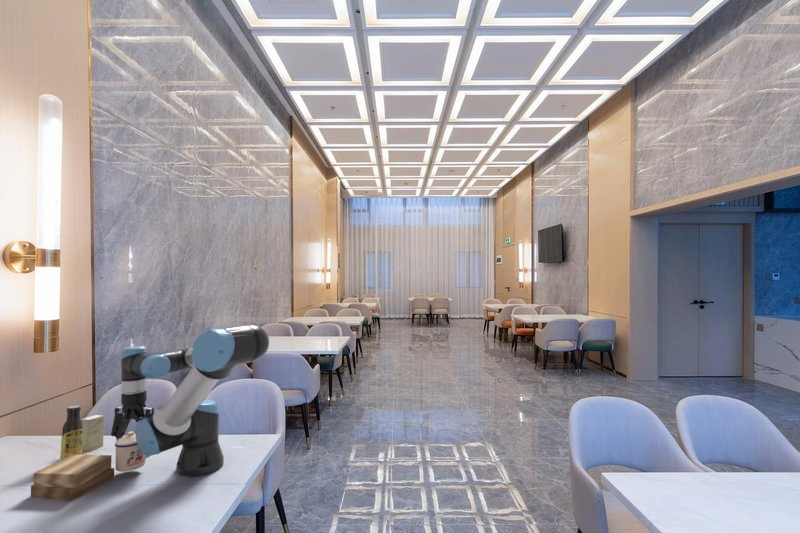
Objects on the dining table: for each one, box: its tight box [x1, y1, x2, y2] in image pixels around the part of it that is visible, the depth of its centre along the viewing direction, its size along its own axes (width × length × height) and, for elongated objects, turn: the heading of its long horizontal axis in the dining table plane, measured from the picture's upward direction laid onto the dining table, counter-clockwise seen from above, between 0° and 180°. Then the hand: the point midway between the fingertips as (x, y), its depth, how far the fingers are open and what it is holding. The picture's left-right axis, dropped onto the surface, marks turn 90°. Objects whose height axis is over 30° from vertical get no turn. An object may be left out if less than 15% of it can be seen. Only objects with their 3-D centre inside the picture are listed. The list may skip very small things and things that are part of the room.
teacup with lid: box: [114, 430, 146, 473], centre depth 146 cm, size 12×9×12 cm
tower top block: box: [32, 454, 112, 488], centre depth 135 cm, size 14×14×4 cm
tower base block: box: [30, 467, 115, 502], centre depth 135 cm, size 15×15×4 cm
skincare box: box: [80, 414, 105, 452], centre depth 167 cm, size 6×4×12 cm
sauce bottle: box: [59, 405, 83, 460], centre depth 155 cm, size 7×6×20 cm
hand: (134, 457), depth 146 cm, fingers closed on teacup with lid, 9 cm apart
